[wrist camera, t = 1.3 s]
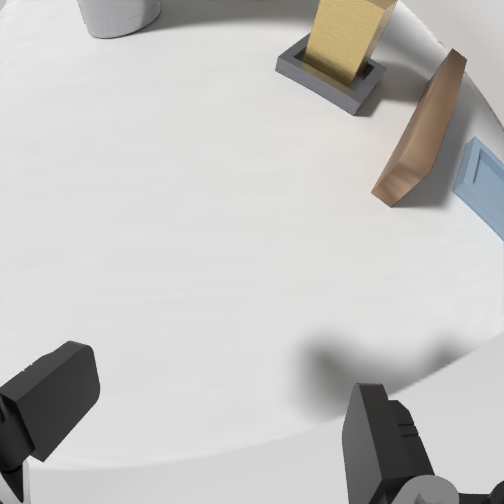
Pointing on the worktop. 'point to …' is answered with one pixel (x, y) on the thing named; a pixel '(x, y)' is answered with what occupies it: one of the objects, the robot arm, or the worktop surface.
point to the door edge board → (422, 133)
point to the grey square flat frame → (328, 78)
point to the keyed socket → (482, 184)
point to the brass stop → (346, 36)
